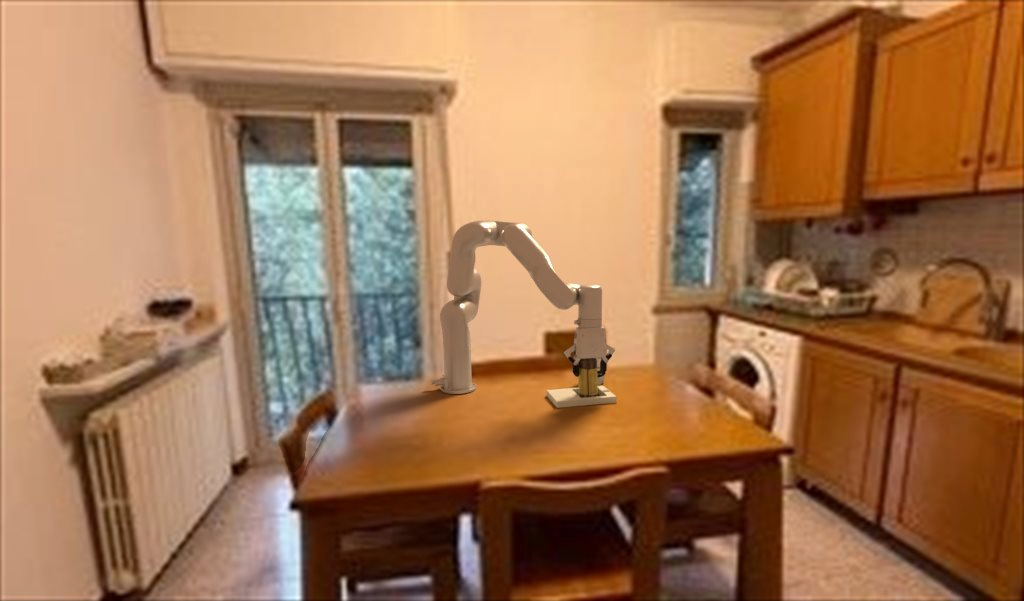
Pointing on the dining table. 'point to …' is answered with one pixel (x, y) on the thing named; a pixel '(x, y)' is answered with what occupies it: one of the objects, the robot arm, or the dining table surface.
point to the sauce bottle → (588, 378)
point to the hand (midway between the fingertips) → (589, 374)
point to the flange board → (571, 397)
